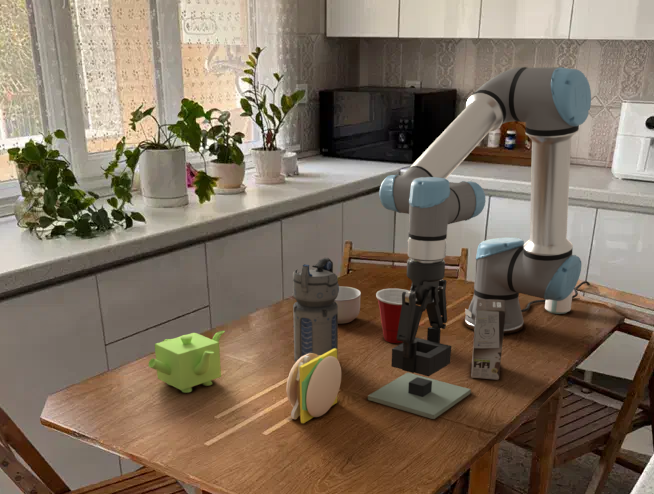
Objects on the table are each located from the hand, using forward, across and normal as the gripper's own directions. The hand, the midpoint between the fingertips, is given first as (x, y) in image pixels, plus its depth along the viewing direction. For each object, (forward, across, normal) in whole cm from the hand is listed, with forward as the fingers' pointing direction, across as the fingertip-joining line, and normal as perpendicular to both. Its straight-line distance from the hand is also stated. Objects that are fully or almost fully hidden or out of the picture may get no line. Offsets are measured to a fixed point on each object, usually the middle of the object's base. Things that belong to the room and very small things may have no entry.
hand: (420, 364), depth 164 cm
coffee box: (+8, -21, +5) cm, 23 cm away
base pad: (+7, 0, 0) cm, 7 cm away
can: (+7, -74, +1) cm, 74 cm away
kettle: (+8, +24, -44) cm, 51 cm away
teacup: (+8, -31, -45) cm, 55 cm away
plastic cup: (+8, -27, -23) cm, 36 cm away
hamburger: (+8, +19, -14) cm, 25 cm away
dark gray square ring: (0, 0, 0) cm, 0 cm away
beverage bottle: (+8, -2, -29) cm, 30 cm away
